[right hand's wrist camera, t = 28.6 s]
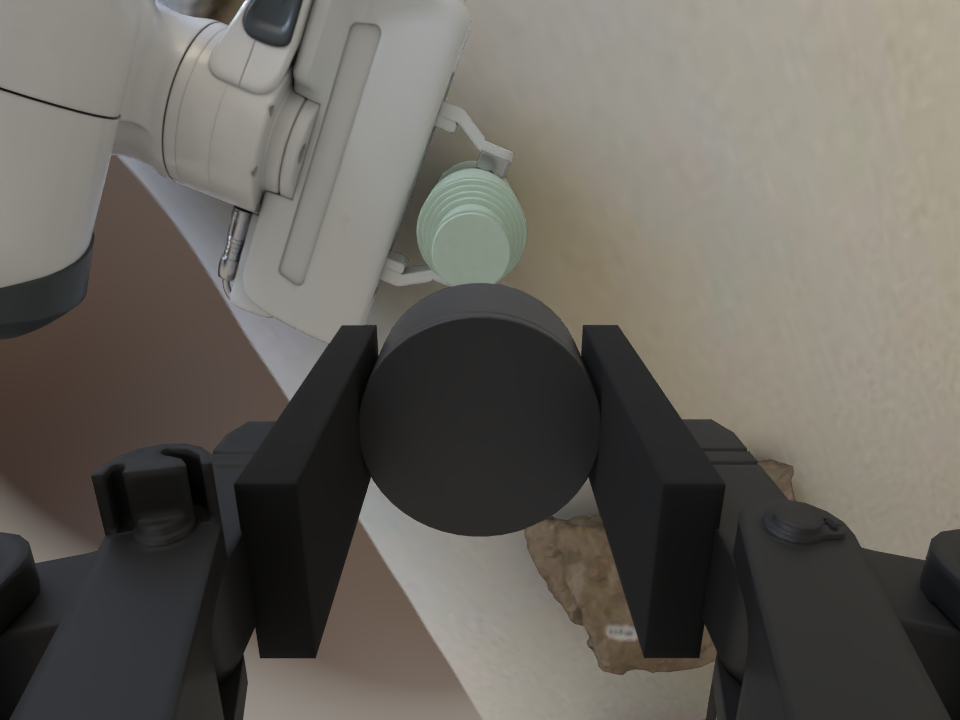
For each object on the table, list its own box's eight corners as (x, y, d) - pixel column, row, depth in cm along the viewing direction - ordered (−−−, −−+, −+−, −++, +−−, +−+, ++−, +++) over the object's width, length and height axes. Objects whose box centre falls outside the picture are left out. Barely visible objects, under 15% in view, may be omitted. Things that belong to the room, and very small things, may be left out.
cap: (411, 253, 13) (396, 281, 11) (613, 321, 14) (641, 362, 11) (354, 439, 15) (330, 499, 12) (539, 494, 15) (550, 563, 13)
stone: (560, 676, 54) (579, 724, 48) (515, 511, 52) (528, 539, 46) (793, 600, 55) (839, 636, 49) (756, 437, 54) (800, 454, 48)
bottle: (529, 215, 44) (560, 271, 27) (461, 259, 45) (453, 338, 28) (484, 143, 42) (490, 159, 26) (415, 191, 43) (380, 234, 27)
